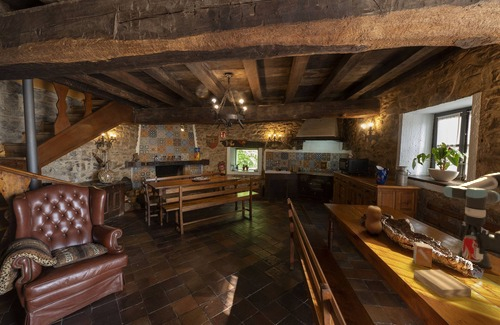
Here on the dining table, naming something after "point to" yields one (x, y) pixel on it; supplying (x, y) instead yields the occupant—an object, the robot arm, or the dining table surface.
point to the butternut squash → (373, 219)
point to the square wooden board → (442, 283)
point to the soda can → (470, 248)
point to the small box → (422, 254)
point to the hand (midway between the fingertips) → (471, 254)
